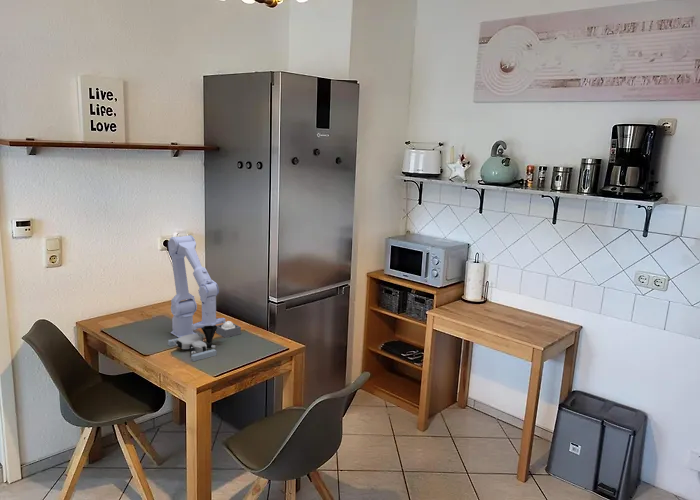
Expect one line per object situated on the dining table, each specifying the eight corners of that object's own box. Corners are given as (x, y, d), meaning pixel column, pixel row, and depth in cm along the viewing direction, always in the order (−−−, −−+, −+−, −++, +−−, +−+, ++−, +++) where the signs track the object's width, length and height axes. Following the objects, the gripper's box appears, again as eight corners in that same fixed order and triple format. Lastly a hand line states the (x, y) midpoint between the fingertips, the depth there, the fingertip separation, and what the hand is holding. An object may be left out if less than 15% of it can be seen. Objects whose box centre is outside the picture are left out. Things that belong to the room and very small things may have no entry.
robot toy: (217, 352, 221) (196, 340, 230) (218, 342, 220) (197, 330, 229) (191, 361, 211) (170, 348, 221) (192, 350, 210) (171, 337, 220)
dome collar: (215, 332, 241) (215, 325, 240) (231, 329, 246) (231, 322, 246) (225, 337, 235) (225, 330, 235) (240, 333, 241) (240, 326, 240)
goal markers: (167, 344, 224) (167, 340, 224) (190, 339, 231) (190, 335, 231) (193, 361, 209) (193, 356, 209) (216, 355, 216) (216, 350, 215)
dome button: (218, 331, 241) (218, 320, 240) (230, 328, 245) (230, 318, 244) (225, 334, 236) (225, 324, 236) (237, 331, 241) (237, 321, 240)
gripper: (197, 317, 215) (198, 349, 217) (229, 310, 225) (229, 341, 227) (189, 312, 220) (189, 344, 222) (220, 306, 230) (220, 336, 232)
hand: (209, 342), depth 225 cm, fingers closed
